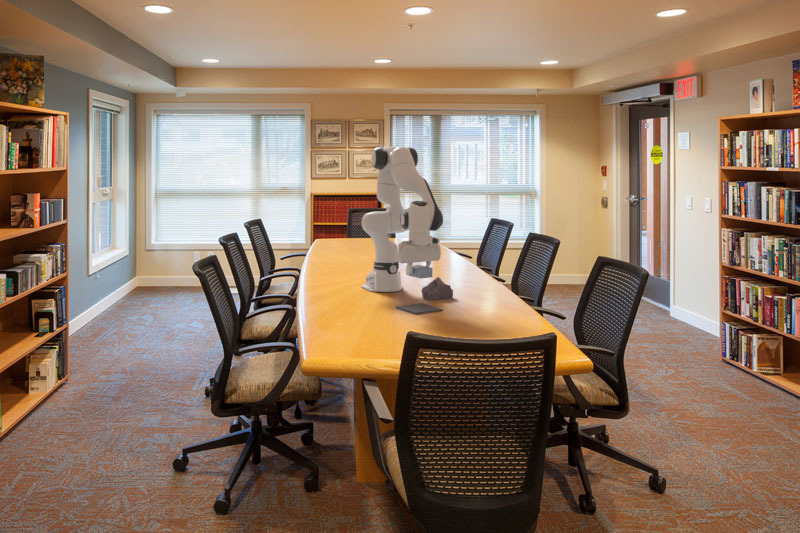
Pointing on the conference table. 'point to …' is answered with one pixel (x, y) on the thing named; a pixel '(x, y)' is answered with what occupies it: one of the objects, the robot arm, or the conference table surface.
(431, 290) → the stone
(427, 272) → the block
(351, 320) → the conference table surface
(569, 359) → the conference table surface
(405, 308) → the mat
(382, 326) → the conference table surface
